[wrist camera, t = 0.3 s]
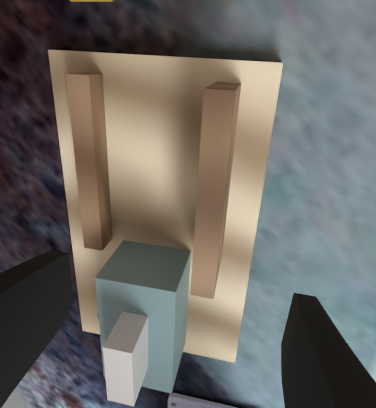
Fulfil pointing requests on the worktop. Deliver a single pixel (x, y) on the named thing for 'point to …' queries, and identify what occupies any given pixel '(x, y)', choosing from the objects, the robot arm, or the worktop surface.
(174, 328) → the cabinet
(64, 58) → the cleat board
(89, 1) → the decorative fish
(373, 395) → the robot arm
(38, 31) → the worktop surface
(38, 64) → the worktop surface
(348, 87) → the worktop surface
